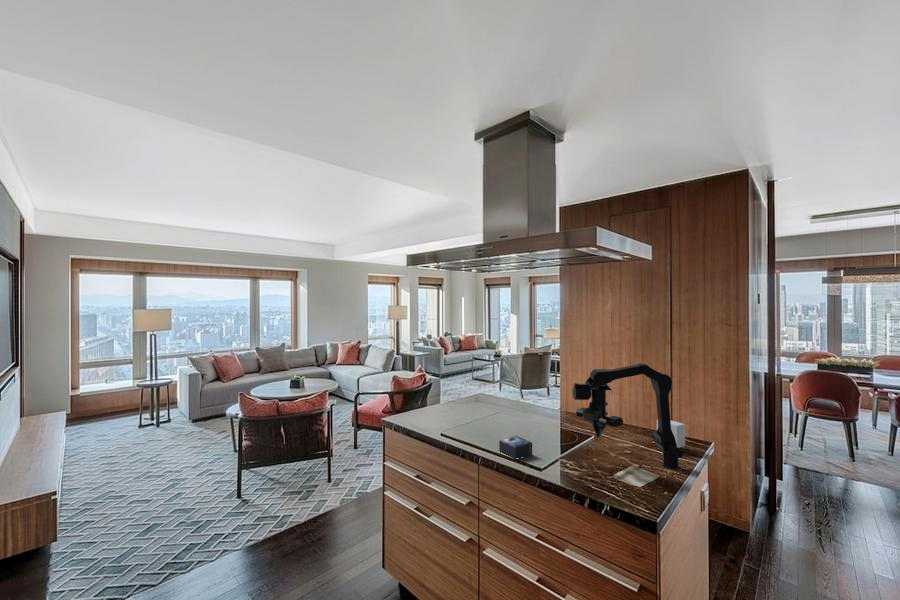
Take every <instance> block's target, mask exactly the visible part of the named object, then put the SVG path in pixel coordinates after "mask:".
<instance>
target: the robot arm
mask: <svg viewBox="0 0 900 600" xmlns="http://www.w3.org/2000/svg"><path fill="white" fill-rule="evenodd" d="M640 375H641V376H642V375H644V376H646V377H647V378H649V379H650V383H651V386H652V389H653V391H654V393H655V399H656V413H657V416H656V417H657V420H658V429H657V428H656V430H653V432H652V433H653V441H654V442H655V444H656V446H658V447H659V449H660V451H662V465H663V468H666V469H668V470H672V469H673V470H674V469H679V468H680V469H683V467H681V466H680V459H682V458H683V457H684V452H683V451H682V450H681V449H680V448H678V447H677V444H676V440H675V437H674V435H673V432H672V430H671V421H670V420H671V413H670V412H671V409H670V392H672V391H671V390H672V388H673V387H672V385H673V380H672V377H671V376H670V375H668V374H666V373H663V372H661V371H657V370H655V369H653V368H652V367H650V366H649V365H648V364H645V363H643V362H640V363H638V364H633V365H627V366H622V367H618V368H611V369H609V368H608V369H607V368H606V369H605V368H604V369H603V368H596V369H595V368H594V369H593V370H591V372H590V375H589V377H588V378H587V380H585V382H584V383H577V382H574V383H573V387H572V398H573V400H574V401H589V400H591V401H590V402H589V403H588V404H589V405H588V407H581V408H578V409H576V411H575V415H576V417H580V418H583V420H584V421H587V422H589V423H591V425H592V427H593V429H594V432H595V435H596V437H597V438H601V435H602V434H603V432H604V430H605V428H606V426H610V427H613V428H617V427H621V426H622V425H624V420H623V418H622V417H620V416H616V415H611V416H608V411H607V406H608V405H609V404H608V402H607V391H612V388H611V387H610V386H609V385H608V384H610V383H612V382H613V381H615V380H619V379H620V380H621V379H624V378H629V377H635V376H640Z"/></svg>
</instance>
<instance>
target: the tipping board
mask: <svg viewBox="0 0 900 600" xmlns="http://www.w3.org/2000/svg"><path fill="white" fill-rule="evenodd" d="M660 477H661V476H660V475H658V474H657V473H654V472H651V471H649V470H645V469H643V468H640V467H639V464H636V463H634V464H632V465H630V466H629V467H627V468H624V469H623V470H621V471H618V472H616V473H614V474H613V479H615V480H617V481H620V482H623V483H625V484H628V485H632V486H634V487H639V488H640V487H643V486H646V485H647V484H650V483H651V482H653V481H655V480H656V479H658V478H660Z"/></svg>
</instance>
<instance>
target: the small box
mask: <svg viewBox="0 0 900 600" xmlns="http://www.w3.org/2000/svg"><path fill="white" fill-rule="evenodd" d="M498 443H499V444H498V445H499V446H498V447H499V451H500V452H502V453H504V454H506V455H508V456H510V457H512V458H514V459H516V458H521V457H526V458H529V457H528V456H530V457H532V456H533V442H531V441H530V440H527V439H525V438H523V437H520V436H518V435H514V436H510V437H507V438H504V439H500V440H499V441H498Z"/></svg>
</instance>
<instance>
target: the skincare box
mask: <svg viewBox="0 0 900 600" xmlns="http://www.w3.org/2000/svg"><path fill="white" fill-rule="evenodd" d="M670 421H671V430H672V432H673V435H674V437H675V440H676V444H677V447H678V448H679V449H680V448H683V447H686V424H685V423H682V422H679V421H674V420H672V419H670ZM657 429H658V419H656V430H657Z"/></svg>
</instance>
